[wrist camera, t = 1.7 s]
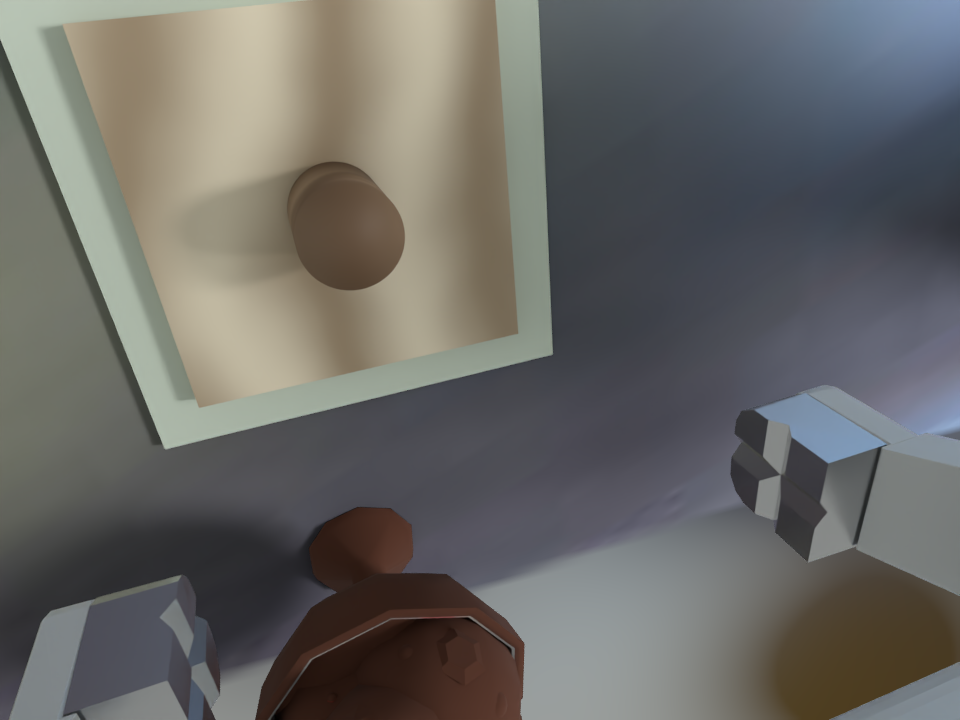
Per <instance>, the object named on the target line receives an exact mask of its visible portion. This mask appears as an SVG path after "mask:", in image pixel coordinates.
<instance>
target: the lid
mask: <svg viewBox="0 0 960 720" xmlns="http://www.w3.org/2000/svg"><path fill="white" fill-rule="evenodd" d="M62 25H63V28H64V31H65V33H66V36H67V39H68V42H69V45H70V47H71V50H72V53H73V56H74V59H75V61H76V64H77V67H78V70H79V73H80V75H81V78H82V81H83V84H84V87H85V90H86V92H87V95H88V98H89V101H90V104H91V106H92V109H93V112H94V115H95V118H96V120H97V123H98V126H99V129H100V132H101V134H102V137H103V140H104V143H105V146H106V148H107V151H108V154H109V157H110V160H111V162H112V165H113V168H114V171H115V174H116V177H117V179H118V182H119V185H120V188H121V191H122V193H123V196H124V199H125V202H126V205H127V207H128V210H129V213H130V216H131V219H132V221H133V224H134V227H135V230H136V233H137V235H138V238H139V241H140V244H141V247H142V250H143V252H144V255H145V258H146V261H147V264H148V266H149V269H150V272H151V275H152V278H153V280H154V283H155V286H156V289H157V292H158V294H159V297H160V300H161V303H162V306H163V308H164V311H165V314H166V317H167V320H168V322H169V325H170V328H171V331H172V334H173V337H174V339H175V342H176V345H177V348H178V351H179V353H180V356H181V359H182V362H183V365H184V367H185V370H186V373H187V376H188V379H189V381H190V384H191V387H192V390H193V393H194V395H195V398H196V401H197V404H198V407H199V408H201V407H206V406H210V405H214V404H219V403H223V402H227V401H231V400H236V399H240V398H244V397H249V396H253V395H257V394H262V393H266V392H270V391H274V390H279V389H283V388H287V387H292V386H296V385H300V384H304V383H309V382H313V381H317V380H322V379H326V378H330V377H335V376H339V375H343V374H347V373H352V372H356V371H360V370H365V369H369V368H373V367H377V366H382V365H386V364H390V363H395V362H399V361H403V360H408V359H412V358H416V357H420V356H425V355H429V354H433V353H438V352H442V351H446V350H450V349H455V348H459V347H463V346H468V345H472V344H476V343H481V342H485V341H489V340H493V339H498V338H502V337H506V336H511V335H515V334H518V322H517V307H516V293H515V279H514V264H513V250H512V235H511V221H510V206H509V192H508V177H507V163H506V148H505V134H504V120H503V105H502V91H501V76H500V62H499V47H498V33H497V18H496V4H495V0H305V1H295V2H285V3H274V4H264V5H253V6H243V7H233V8H222V9H212V10H202V11H191V12H181V13H170V14H160V15H150V16H139V17H129V18H119V19H108V20H98V21H87V22H77V23H67V24H62Z"/></svg>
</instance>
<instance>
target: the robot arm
mask: <svg viewBox="0 0 960 720" xmlns="http://www.w3.org/2000/svg"><path fill="white" fill-rule="evenodd" d="M734 434H735V435H736V436H737V437H738V439H739V440H740V441H741V444H740V445H739V447H738V448H737V450H736V451H735V453H734V454H733V456H732V459H731V478H732V481H733V484H734V487H735V490H736V492H737V494H738V495H739V497H740V498H741V500H742V501H743V503H744V504H745V505H746V506H747V507H748V508H750V509H751V510H752V511H753V512H754V513H755V514H758V515H761V516H763V517H766V518H769V519H772V520H773V521H774V527H775V533H776V534H778V535H779V536H780V537H781V538H782V539H783V540H784V541H785V542H786V543H787V544H788V545H789V546H790V547H791V548H793V549H794V550H795V551H796V552H797V553H798V554H799V555H800V556H801V557H802V558H804V559H805V560H806V561H807V562H811V561H813V560H817V559H820V558H823V557H826V556H829V555H832V554H835V553H837V552H841V551H844V550H847V549H850V548H853V547H856V546H857V548H856V549H857V550H859V551H861V552H863V553H866V554H868V555H870V556H872V557H874V558H877V559H879V560H881V561H883V562H886V563H888V564H890V565H892V566H895V567H897V568H899V569H901V570H904V571H906V572H908V573H910V574H912V575H915V576H917V577H919V578H921V579H924V580H926V581H928V582H930V583H933V584H935V585H937V586H939V587H942V588H944V589H946V590H948V591H951V592H953V593H955V594H957V595H960V440H955V439H951V438H947V437H942V436H938V435H933V434H929V433H925V434H922V435H919V436H918V435H917V434H915V433H913V432H912V431H910V430H908V429H906V428H905V427H903V426H901V425H900V424H898V423H896V422H895V421H893V420H891V419H889V418H888V417H886V416H884V415H883V414H881V413H879V412H877V411H876V410H874V409H872V408H871V407H869V406H867V405H866V404H864V403H862V402H860V401H859V400H857V399H855V398H854V397H852V396H850V395H848V394H847V393H845V392H843V391H842V390H840V389H838V388H837V387H832V386H827V385H822V386H819V387H816V388H813V389H810V390H807V391H803V392H800V393H797V394H796V395H793V396H789V397H786V398H783V399H779V400H776V401H773V402H769V403H766V404H763V405H759V406H756V407H753V408H749V409H746V410H743V411H741V413H740V415H739V416H738V418H737V420H736V426H735V433H734ZM195 611H196V594H195V592H194V590H193V588H192V586H191V584H190V582H189V579H188V577H186V576H183V575H179V576H175V577H171V578H168V579H164V580H160V581H157V582H153V583H149V584H145V585H142V586H138V587H134V588H131V589H127V590H123V591H120V592H116V593H112V594H108V595H105V596H101V597H97V598H96V599H94V600H89V601H85V602H82V603H78V604H74V605H71V606H67V607H63V608H60V609H56V610H52V611H50V612H49V613H48V615H47V616H46V617H45V618H44V619H43V620H42V622H41V624H40V627H39V630H38V633H37V636H36V639H35V642H34V645H33V648H32V651H31V654H30V657H29V660H28V663H27V666H26V669H25V672H24V675H23V678H22V681H21V684H20V687H19V690H18V693H17V696H16V699H15V702H14V705H13V708H12V712H11V715H10V718H9V720H215V718H214V715H213V713H212V711H211V708H212V706H213V705H214V703H215V702H216V700H217V699H218V697H219V696H220V671H219V663H218V655H217V649H216V646H215V642H214V638H213V635H212V632H211V630H210V627H209V625H208V622H207V620H205V619H202V618H200V617H198V616H196V615H195ZM830 720H960V662H959V663H956V664H954V665H952V666H949V667H947V668H945V669H943V670H940V671H938V672H936V673H934V674H931V675H929V676H927V677H925V678H923V679H920V680H918V681H916V682H913V683H912V684H909V685H907V686H905V687H902V688H900V689H898V690H896V691H893V692H891V693H889V694H886V695H884V696H882V697H880V698H877V699H875V700H873V701H871V702H868V703H866V704H864V705H862V706H859V707H857V708H855V709H853V710H851V711H848V712H846V713H844V714H842V715H839V716H837V717H835V718H833V719H830Z"/></svg>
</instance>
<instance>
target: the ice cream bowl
mask: <svg viewBox="0 0 960 720" xmlns="http://www.w3.org/2000/svg"><path fill="white" fill-rule="evenodd" d="M309 552H310V558H311V563H312V569H313V574H314V575H315V577H316V578H317V580H319V581H320V582H322V583H324V584H325V585H327V586H328V587H330V588H331V589H333V590H334V591H336V592H337V593H335V594H333V595H331V596H329V597H327V598H326V599H324V600H323V601H321V602H319V603H318V604H316V605H315V606H313V607H312V608H311V609H310V610H309V611H308V613H307V614H306V616H305V617H304V619H303V620H302V622H301V623H300V625H299V626H298V628H297V629H296V630H295V632H294V633H293V635H292V636H291V638H290V639H289V641H288V642H287V644H286V645H285V647H284V648H283V650H282V651H281V652H280V654H279V655H278V657H277V658H276V660H275V661H274V663H273V666H272V668H271V670H270V672H269V674H268V676H267V678H266V680H265V682H264V684H263V686H262V689H261V694H260V699H259V704H258V709H257V714H256V719H255V720H522V717H521V715H520V709H521V699H522V698H523V671H524V670H523V669H524V642H523V641H522V640H521V638H520V637H519V636H518V634H517V633H516V632H515V630H514V629H513V628H512V626H511V625H510V624H509V623H508V621H507V620H506V619H505V618H504V617H502V616H501V615H500V614H498V613H497V612H496V611H494V610H493V609H492V608H491V607H489V606H488V605H486V604H485V603H484V602H483V601H481V600H480V599H479V598H478V597H476V596H475V595H474V594H472V593H471V592H470V591H468V590H467V589H466V588H465V587H463V586H462V585H461V584H459V583H458V582H457V581H455V580H454V579H452V578H451V577H450V576H448V575H447V574H429V573H401V572H402V571H403V569H404V568H405V567H406V565H407V564H408V562H409V561H410V560H411V558H412V557H413V541H412V527H411V525H410V524H409V523H408V522H407V521H405V520H404V519H403V518H402V517H400V516H399V515H398V514H397V513H395V512H394V511H393V510H392V509H388V508H364V507H357V508H355V509H353V510H351V511H349V512H347V513H345V514H343V515H341V516H338V517H336V518H334V519H332V520H330V521H328V522H326V523H325V525H324V526H323V528H322V529H321V531H320V532H319V534H318V535H317V537H316V538H315V540H314V541H313V543H312V544H311V546H310V547H309Z"/></svg>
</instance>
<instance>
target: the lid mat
mask: <svg viewBox="0 0 960 720" xmlns="http://www.w3.org/2000/svg"><path fill="white" fill-rule="evenodd" d="M295 1H305V0H0V40H1V42H2V45H3V47H4V50H5V52H6V55H7V57H8V60H9V62H10V65H11V67H12V70H13V72H14V75H15V77H16V80H17V82H18V84H19V87H20V89H21V92H22V94H23V97H24V99H25V102H26V104H27V107H28V109H29V112H30V114H31V117H32V119H33V122H34V124H35V127H36V129H37V132H38V134H39V137H40V139H41V142H42V144H43V147H44V149H45V152H46V154H47V157H48V159H49V162H50V164H51V167H52V169H53V172H54V174H55V177H56V179H57V182H58V184H59V187H60V189H61V192H62V194H63V197H64V199H65V202H66V204H67V207H68V209H69V212H70V214H71V217H72V219H73V222H74V224H75V227H76V229H77V232H78V234H79V237H80V239H81V242H82V244H83V247H84V249H85V252H86V254H87V257H88V259H89V262H90V264H91V266H92V269H93V271H94V274H95V276H96V279H97V281H98V284H99V286H100V289H101V291H102V294H103V296H104V299H105V301H106V304H107V306H108V309H109V311H110V314H111V316H112V319H113V321H114V324H115V326H116V329H117V331H118V334H119V336H120V339H121V341H122V344H123V346H124V349H125V351H126V354H127V356H128V359H129V361H130V364H131V366H132V369H133V371H134V374H135V376H136V379H137V381H138V384H139V386H140V389H141V391H142V394H143V396H144V399H145V401H146V404H147V406H148V409H149V411H150V414H151V416H152V419H153V421H154V424H155V426H156V429H157V431H158V434H159V436H160V439H161V441H162V443H163V446H164V448H165V449H169V448H173V447H177V446H181V445H185V444H189V443H193V442H197V441H201V440H205V439H210V438H214V437H218V436H222V435H226V434H230V433H234V432H238V431H242V430H246V429H251V428H255V427H259V426H263V425H267V424H271V423H275V422H279V421H283V420H287V419H291V418H296V417H300V416H304V415H308V414H312V413H316V412H320V411H324V410H328V409H332V408H336V407H341V406H345V405H349V404H353V403H357V402H361V401H365V400H369V399H373V398H377V397H382V396H386V395H390V394H394V393H398V392H402V391H406V390H410V389H414V388H418V387H422V386H427V385H431V384H435V383H439V382H443V381H447V380H451V379H455V378H459V377H463V376H468V375H472V374H476V373H480V372H484V371H488V370H492V369H496V368H500V367H504V366H508V365H513V364H517V363H521V362H525V361H529V360H533V359H537V358H541V357H545V356H549V355H553V346H552V322H551V297H550V273H549V249H548V225H547V200H546V176H545V152H544V128H543V103H542V79H541V55H540V31H539V6H538V0H495V4H496V18H497V33H498V47H499V62H500V76H501V91H502V105H503V120H504V134H505V148H506V163H507V177H508V192H509V206H510V221H511V235H512V250H513V264H514V279H515V293H516V307H517V322H518V334H515V335H511V336H506V337H502V338H498V339H493V340H489V341H485V342H481V343H476V344H472V345H468V346H463V347H459V348H455V349H450V350H446V351H442V352H438V353H433V354H429V355H425V356H420V357H416V358H412V359H408V360H403V361H399V362H395V363H390V364H386V365H382V366H377V367H373V368H369V369H365V370H360V371H356V372H352V373H347V374H343V375H339V376H335V377H330V378H326V379H322V380H317V381H313V382H309V383H304V384H300V385H296V386H292V387H287V388H283V389H279V390H274V391H270V392H266V393H262V394H257V395H253V396H249V397H244V398H240V399H236V400H231V401H227V402H223V403H219V404H214V405H210V406H206V407H201V408H199V407H198V404H197V401H196V398H195V395H194V393H193V390H192V387H191V384H190V381H189V379H188V376H187V373H186V370H185V367H184V365H183V362H182V359H181V356H180V353H179V351H178V348H177V345H176V342H175V339H174V337H173V334H172V331H171V328H170V325H169V322H168V320H167V317H166V314H165V311H164V308H163V306H162V303H161V300H160V297H159V294H158V292H157V289H156V286H155V283H154V280H153V278H152V275H151V272H150V269H149V266H148V264H147V261H146V258H145V255H144V252H143V250H142V247H141V244H140V241H139V238H138V235H137V233H136V230H135V227H134V224H133V221H132V219H131V216H130V213H129V210H128V207H127V205H126V202H125V199H124V196H123V193H122V191H121V188H120V185H119V182H118V179H117V177H116V174H115V171H114V168H113V165H112V162H111V160H110V157H109V154H108V151H107V148H106V146H105V143H104V140H103V137H102V134H101V132H100V129H99V126H98V123H97V120H96V118H95V115H94V112H93V109H92V106H91V104H90V101H89V98H88V95H87V92H86V90H85V87H84V84H83V81H82V78H81V75H80V73H79V70H78V67H77V64H76V61H75V59H74V56H73V53H72V50H71V47H70V45H69V42H68V39H67V36H66V33H65V31H64V28H63V25H62V24H67V23H77V22H87V21H98V20H108V19H119V18H129V17H139V16H150V15H160V14H170V13H181V12H191V11H202V10H212V9H222V8H233V7H243V6H253V5H264V4H274V3H285V2H295Z"/></svg>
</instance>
